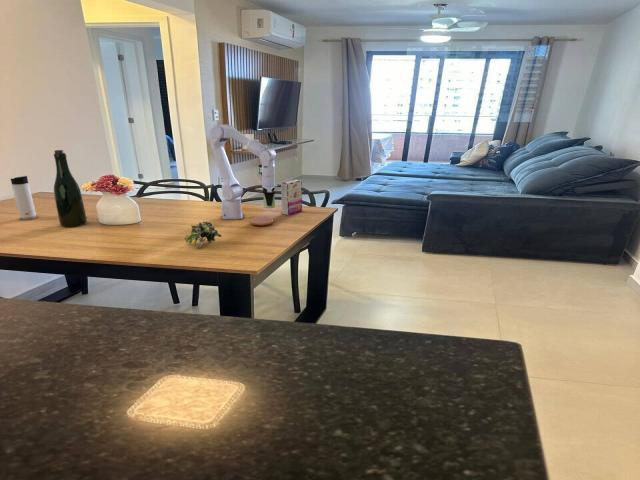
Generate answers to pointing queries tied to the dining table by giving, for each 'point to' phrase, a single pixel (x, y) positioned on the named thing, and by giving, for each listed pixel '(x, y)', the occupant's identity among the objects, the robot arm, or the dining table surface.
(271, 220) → the stand
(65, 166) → the green wine bottle
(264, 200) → the jar
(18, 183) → the travel mug
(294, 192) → the candy bar box
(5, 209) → the dining table surface
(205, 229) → the green leafy plant
